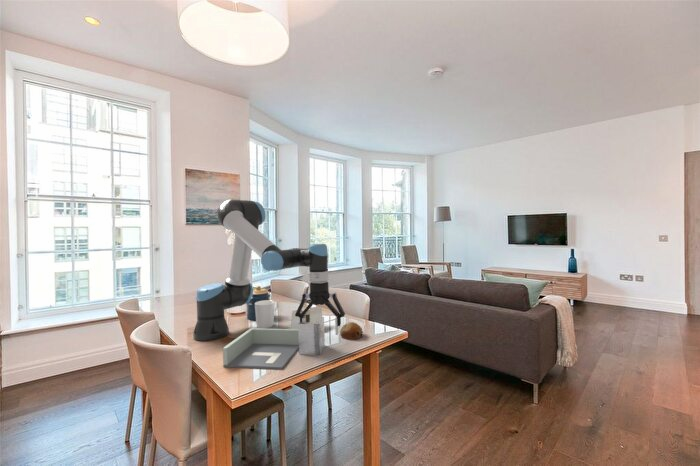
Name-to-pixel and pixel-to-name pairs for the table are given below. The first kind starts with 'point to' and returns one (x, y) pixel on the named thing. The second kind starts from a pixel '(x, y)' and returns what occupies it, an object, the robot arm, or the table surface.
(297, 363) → the table surface
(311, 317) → the wall
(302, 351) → the angle bracket
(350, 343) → the table surface
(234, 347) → the corner tray
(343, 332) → the bread roll
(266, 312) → the candle holder
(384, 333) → the table surface
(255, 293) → the canister
